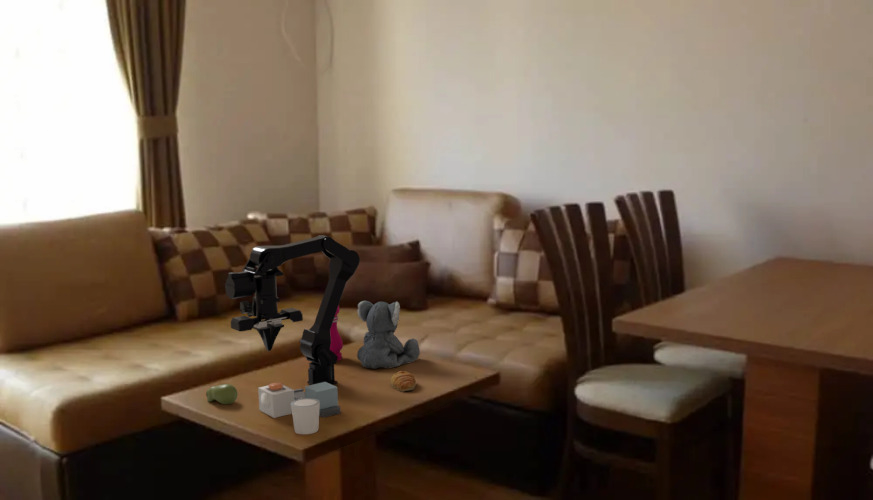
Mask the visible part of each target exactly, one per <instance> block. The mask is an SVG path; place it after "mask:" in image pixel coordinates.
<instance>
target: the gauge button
mask: <svg viewBox="0 0 873 500" xmlns="http://www.w3.org/2000/svg"><path fill="white" fill-rule="evenodd" d="M268 385H269V389H270V391H271V392H276V391H281V390H282V388H283V385H284V384H283V382H271V383H269V384H268Z"/></svg>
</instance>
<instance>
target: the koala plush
mask: <svg viewBox="0 0 873 500" xmlns="http://www.w3.org/2000/svg"><path fill="white" fill-rule="evenodd" d="M357 308H358V309H357V311H356V312H357V316H358V318H359V319H360V320H361V321H362V322H364V323H366V327H367V332H365V333H364V337H363V345H362V346H361V347H359V348H358V350H357V355H356V357H357V359H358V360H359V362H360V363H361V366H362V367H363V368H366V369H372V370H373V369H374V370H375V369H379V368H384V369H390V368H391V369H392V368H397V367H400V366H401V365H405V364H409V363H412V362H415V361H416V360H418V358H419V356H420V346H419V340H418V339H416V338H414V337H413V338H409V339H407V341H406V342H405V343H404V345H403V344H402V342H401V341H400V339H399V338H398V337H397V336H396V335H395V332H396V330H397V328H398V324H399V321H400V312H401V306H400V302H398V301H395V302H392V303H390V304H389V302H386V301H378V302H376V303H374V304H373V303H372V302H371V301H368V300H362V301H360V302H358V304H357Z"/></svg>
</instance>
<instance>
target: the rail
mask: <svg viewBox="0 0 873 500" xmlns="http://www.w3.org/2000/svg"><path fill="white" fill-rule="evenodd" d="M293 390H294V400H298V399H304V398H305V391H304V388H296V389H293ZM320 414H321V415H320V418H322V419H323V418H327V417H331V416H332V417H333V416H335V415H339V414H341V406H340V405H338V406H333V407H329V408H325V409H321V410H320Z"/></svg>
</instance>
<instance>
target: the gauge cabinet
mask: <svg viewBox="0 0 873 500" xmlns="http://www.w3.org/2000/svg"><path fill="white" fill-rule="evenodd" d="M257 389H258V390H257V391H258V392H257V394H258V408H259V411H260V412H262V413H264V414H266V415H268V416H270V417H271V418H273V419H276V418H279V417H283V416H287V415H292V408H291V403H292V402H293V401H295V400H294V390H295V389H293V388H291V387H289V386H286V385H284V384H283V388H282V390H281V391H276V392H271V391H270V389H269V384H268V385H265V386H259V387H257Z"/></svg>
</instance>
